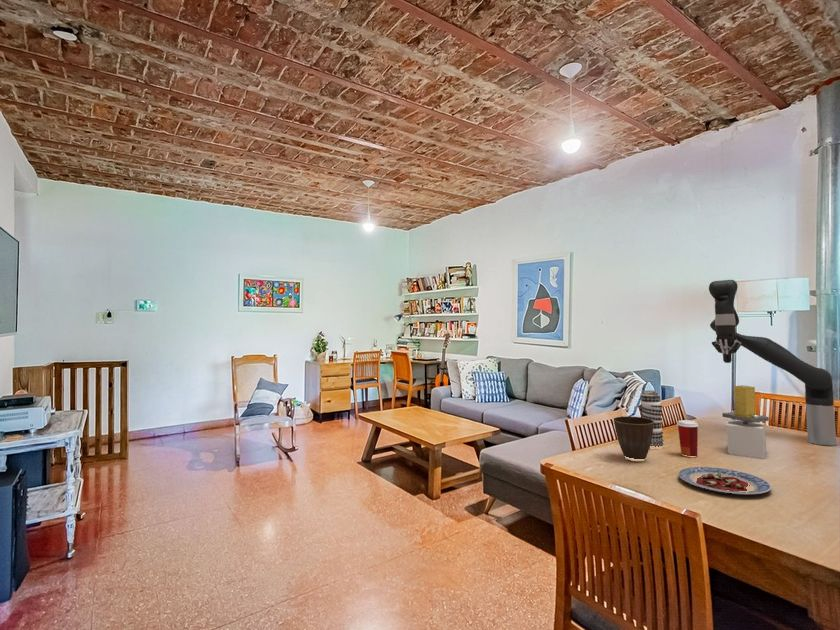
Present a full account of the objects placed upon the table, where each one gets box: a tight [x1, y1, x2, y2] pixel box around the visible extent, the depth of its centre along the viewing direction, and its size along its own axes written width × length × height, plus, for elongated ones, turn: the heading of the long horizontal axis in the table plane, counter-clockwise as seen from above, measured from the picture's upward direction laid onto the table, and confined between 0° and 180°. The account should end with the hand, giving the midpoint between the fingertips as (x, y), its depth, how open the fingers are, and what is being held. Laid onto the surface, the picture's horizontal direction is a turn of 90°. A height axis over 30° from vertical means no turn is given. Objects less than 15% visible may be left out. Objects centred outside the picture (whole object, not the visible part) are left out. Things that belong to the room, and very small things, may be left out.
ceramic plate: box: [677, 466, 773, 495], centre depth 145 cm, size 26×26×3 cm
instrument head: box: [722, 385, 770, 423], centre depth 181 cm, size 12×10×14 cm
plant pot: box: [613, 416, 654, 460], centre depth 176 cm, size 15×15×16 cm
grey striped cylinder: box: [639, 389, 664, 447], centre depth 193 cm, size 9×9×25 cm
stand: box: [725, 419, 767, 460], centre depth 180 cm, size 12×12×14 cm
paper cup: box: [676, 419, 699, 457], centre depth 179 cm, size 8×8×14 cm
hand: (727, 362), depth 193 cm, fingers closed
